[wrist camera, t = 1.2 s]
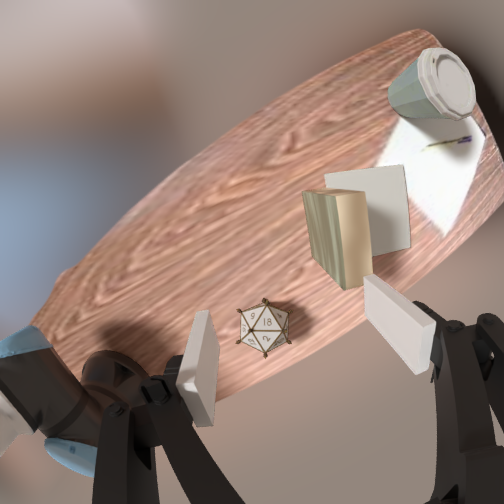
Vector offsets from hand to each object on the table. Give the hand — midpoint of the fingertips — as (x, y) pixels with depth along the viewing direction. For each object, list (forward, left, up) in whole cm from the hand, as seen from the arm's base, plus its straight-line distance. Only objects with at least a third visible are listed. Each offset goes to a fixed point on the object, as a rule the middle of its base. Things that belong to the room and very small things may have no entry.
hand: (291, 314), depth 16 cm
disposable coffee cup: (+28, +18, -26) cm, 42 cm away
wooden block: (+9, 0, -26) cm, 27 cm away
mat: (+18, 0, -26) cm, 31 cm away
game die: (-2, -13, -26) cm, 29 cm away
